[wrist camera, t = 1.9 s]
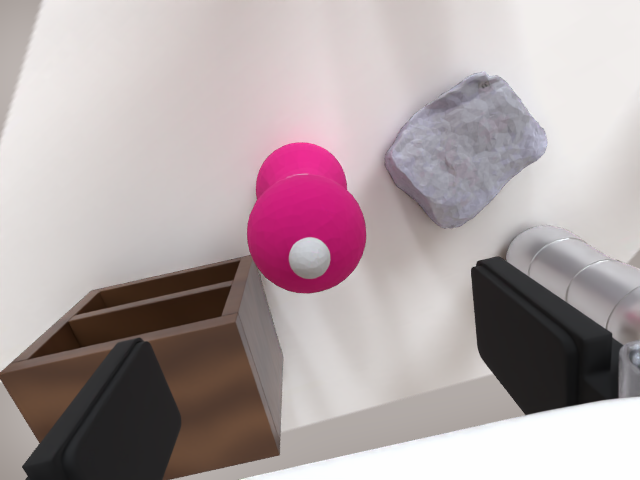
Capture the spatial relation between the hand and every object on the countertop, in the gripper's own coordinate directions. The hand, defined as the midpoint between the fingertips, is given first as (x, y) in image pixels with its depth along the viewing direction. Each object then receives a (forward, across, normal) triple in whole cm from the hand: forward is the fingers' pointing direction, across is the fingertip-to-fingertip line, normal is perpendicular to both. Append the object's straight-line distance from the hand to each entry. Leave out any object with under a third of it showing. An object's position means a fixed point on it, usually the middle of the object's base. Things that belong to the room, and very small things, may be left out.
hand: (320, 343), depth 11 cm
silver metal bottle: (+25, -21, +12) cm, 35 cm away
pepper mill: (+25, 0, -1) cm, 25 cm away
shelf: (+25, +14, +11) cm, 31 cm away
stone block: (+25, -14, 0) cm, 29 cm away
